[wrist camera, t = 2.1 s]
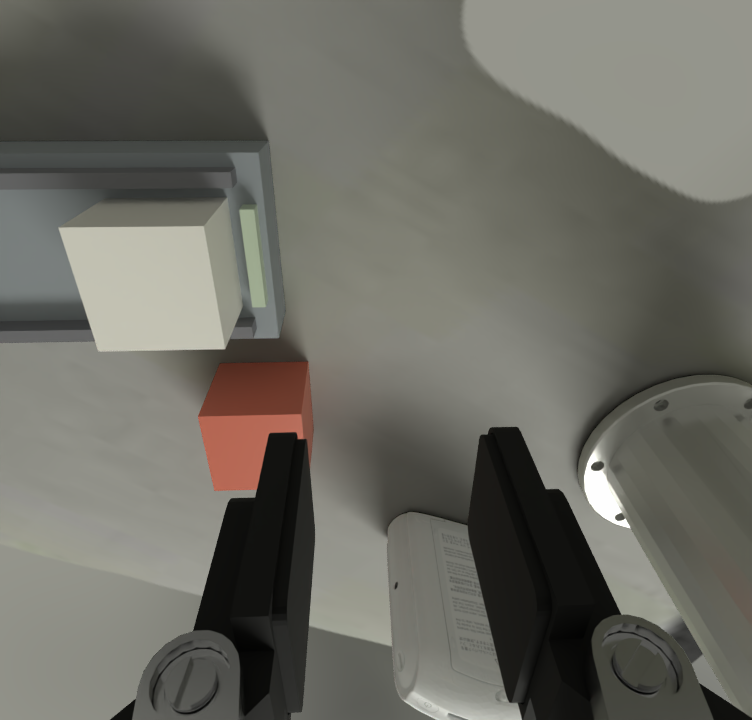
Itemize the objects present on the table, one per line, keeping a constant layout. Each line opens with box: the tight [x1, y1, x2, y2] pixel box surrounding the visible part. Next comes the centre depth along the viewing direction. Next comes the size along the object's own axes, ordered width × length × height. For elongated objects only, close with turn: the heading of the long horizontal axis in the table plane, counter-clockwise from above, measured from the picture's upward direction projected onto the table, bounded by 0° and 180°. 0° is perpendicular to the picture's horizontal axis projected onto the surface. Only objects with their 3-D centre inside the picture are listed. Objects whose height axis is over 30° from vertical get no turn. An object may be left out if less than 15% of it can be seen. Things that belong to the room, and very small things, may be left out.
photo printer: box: [387, 512, 522, 720], centre depth 33 cm, size 10×4×12 cm, turn 67°
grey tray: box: [0, 141, 286, 343], centre depth 23 cm, size 15×8×4 cm, turn 90°
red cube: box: [198, 362, 314, 491], centre depth 29 cm, size 5×5×5 cm
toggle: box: [58, 197, 243, 351], centre depth 21 cm, size 5×5×4 cm
